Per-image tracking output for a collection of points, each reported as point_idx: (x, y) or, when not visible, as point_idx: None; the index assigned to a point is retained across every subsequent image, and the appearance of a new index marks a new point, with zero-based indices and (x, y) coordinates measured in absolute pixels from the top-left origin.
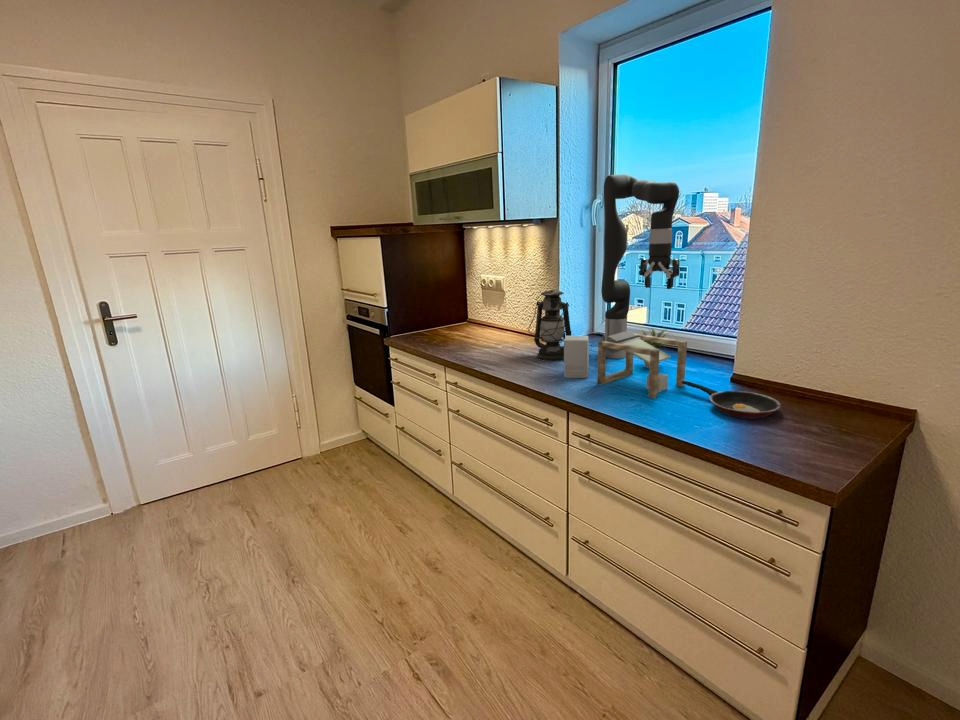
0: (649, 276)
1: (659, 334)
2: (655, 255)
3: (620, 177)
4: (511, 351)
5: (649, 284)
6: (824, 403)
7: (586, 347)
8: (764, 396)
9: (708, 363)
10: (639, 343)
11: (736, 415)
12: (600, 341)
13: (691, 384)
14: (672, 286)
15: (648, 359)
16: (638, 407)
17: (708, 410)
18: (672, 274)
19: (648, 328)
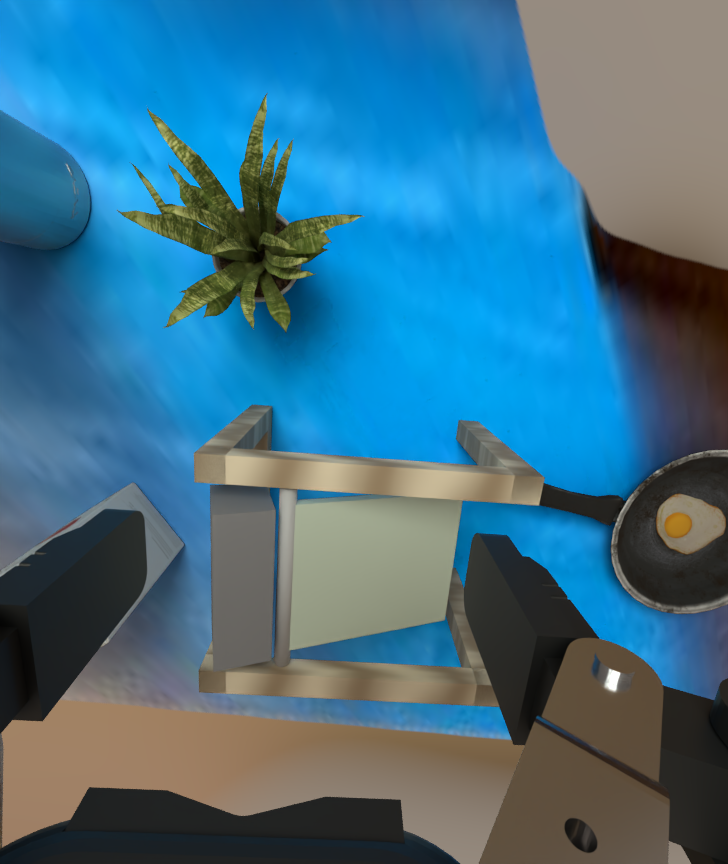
0: (4, 654)
1: (245, 180)
2: None
3: None
4: None
5: (120, 553)
6: None
7: (124, 621)
8: None
9: (444, 36)
10: (328, 545)
11: (679, 586)
12: (208, 687)
13: (539, 503)
14: (534, 571)
15: (425, 611)
16: (450, 658)
17: (604, 577)
18: (689, 857)
19: (172, 206)
